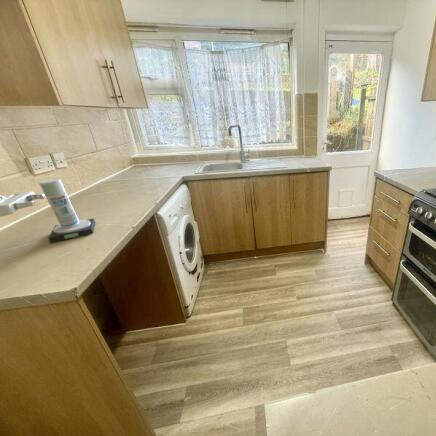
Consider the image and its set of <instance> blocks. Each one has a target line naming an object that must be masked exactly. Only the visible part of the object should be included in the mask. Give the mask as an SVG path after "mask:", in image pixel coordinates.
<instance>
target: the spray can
mask: <svg viewBox="0 0 436 436" xmlns="http://www.w3.org/2000/svg"><path fill="white" fill-rule="evenodd" d="M38 184H39V186H40V188H41V190H42V192H43V194H44V195H45V197H46V198H45V199H46V200H47V202H48V203H49V206H50V208H51V210H52V211H53V213H54V215H55V217H56V219H57V221H58V223H59V225H61V227H62V228H69V227H73V226H76V225H78V224H79V223H80V222H79V220H80V219H79V217H78V215H77V213H76V211H75V209H74V207H73V204H72V202H71V200H70V198H69V195H68V193H67V191H66V189H65V186H64V184H63V182H62V180H61V178H50V179H43V180H40V181H39V182H38Z"/></svg>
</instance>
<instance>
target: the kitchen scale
mask: <svg viewBox="0 0 436 436" xmlns="http://www.w3.org/2000/svg"><path fill="white" fill-rule="evenodd" d="M78 220H79V222H80V223H79V224H78V225H76V226H73V227H69V228H62V227H61V225H60V224H56V225H54V227H53V229H52V230H51V232H50V233H49V235H48V237H47V239H48V241H49V243H50V244H53V243H58V242H61V241H67V240H71V239H75V238H80V236H81V237H84V235H85V236H89V235H93V234H94V231H95V226H96V220H95V218H89V219H78ZM92 233H93V234H92ZM88 234H89V235H88Z"/></svg>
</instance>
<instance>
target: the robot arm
mask: <svg viewBox="0 0 436 436" xmlns="http://www.w3.org/2000/svg"><path fill="white" fill-rule="evenodd" d="M44 199H47V198H46V196H45V194H44V193H41V194H39V193H38V194H37V193H35V191H32V190H30V191H22V192H13V193H10V194H7V195H5V196H4V195H0V217H5V216H9V215H13V214H14V213H16V212H17V211H18V212H19V210H21V209H25V208H29V207H34V206H35V205H36V203H35V201H36V200H44Z"/></svg>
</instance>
